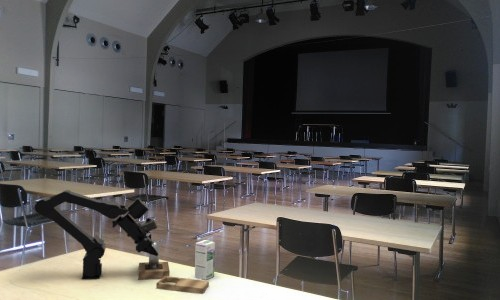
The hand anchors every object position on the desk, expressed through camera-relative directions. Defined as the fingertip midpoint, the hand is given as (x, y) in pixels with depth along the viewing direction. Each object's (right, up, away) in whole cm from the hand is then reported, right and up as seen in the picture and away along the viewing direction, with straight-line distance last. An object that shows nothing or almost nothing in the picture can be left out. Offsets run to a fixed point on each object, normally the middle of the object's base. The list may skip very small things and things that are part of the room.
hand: (157, 253), depth 172 cm
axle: (-2, -7, 0) cm, 7 cm away
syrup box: (+19, -10, -1) cm, 21 cm away
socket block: (-2, -8, 0) cm, 8 cm away
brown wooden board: (+13, -10, -13) cm, 20 cm away
